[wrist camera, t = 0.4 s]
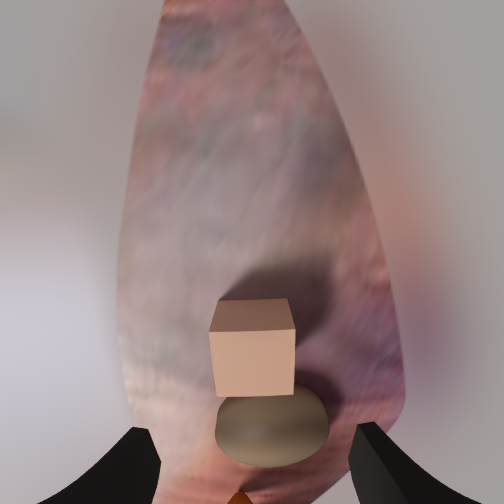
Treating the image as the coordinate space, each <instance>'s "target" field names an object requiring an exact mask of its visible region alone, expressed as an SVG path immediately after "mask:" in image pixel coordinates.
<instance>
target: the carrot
mask: <svg viewBox="0 0 504 504" xmlns="http://www.w3.org/2000/svg"><path fill="white" fill-rule="evenodd" d="M228 504H253V503H252V502H251V500H250V499H249V497H248V496H247V495H246V494H245V493H244V492H242V491H239V492H237V493H235V494H234V496H233V497H232V498H231V499H230V501H229V502H228Z"/></svg>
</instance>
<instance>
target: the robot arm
mask: <svg viewBox="0 0 504 504" xmlns="http://www.w3.org/2000/svg"><path fill="white" fill-rule="evenodd" d="M348 460H349V465H350V471H351V476H352V480H353V484H354V487H355V490H356V493H357V496H358V499H359V502H360V504H481V503H479V502H476V501H474V500H472V499H470V498H468V497H465V496H463V495H461V494H460V493H458V492H456V491H454V490H452V489H450V488H449V487H447V486H446V485H444V484H443V483H441V482H440V481H438V480H437V479H435V478H434V477H432V476H431V475H430V474H428V473H427V472H426V471H425V470H424V469H422V468H421V467H420V466H419V465H418V464H416V463H415V462H414V461H413V460H412V459H411V458H410V457H409V456H408V455H407V454H405V453H404V452H403V451H402V450H401V449H400V448H399V447H398V446H397V445H396V444H395V443H394V442H393V441H392V440H391V439H390V438H389V437H388V436H387V435H386V433H385V432H384V431H383V430H382V429H381V428H380V427H379V426H378V425H377V424H376V423H375V422H374V421H373V422H368V423H362V424H357V428H356V432H355V436H354V439H353V443H352V447H351V450H350V454H349V457H348ZM160 467H161V460H160V458H159V455H158V453H157V451H156V448H155V446H154V443H153V441H152V438H151V435H150V433H149V430H148V429H144V428H137V427H132V428H131V429H130V430H129V431H128V432H127V433H126V434H125V435H124V436H123V437H122V438H121V439H120V440H119V441H118V442H117V443H116V444H115V445H114V446H113V447H112V448H111V449H110V450H109V452H107V453H106V454H105V455H104V456H103V457H102V458H101V459H100V460H99V461H98V462H97V463H96V464H95V465H94V466H93V467H91V468H90V469H89V470H88V471H87V472H85V473H84V474H83V475H82V476H81V477H80V478H78V479H77V480H76V481H74V482H73V483H72V484H70V485H69V486H67V487H66V488H65V489H63V490H61V491H60V492H58V493H57V494H55V495H53V496H51V497H50V498H48V499H46V500H44V501H42V502H40V503H38V504H152V501H153V497H154V494H155V491H156V488H157V485H158V479H159V473H160Z"/></svg>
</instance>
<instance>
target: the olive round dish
mask: <svg viewBox="0 0 504 504" xmlns="http://www.w3.org/2000/svg"><path fill="white" fill-rule="evenodd" d="M329 428H330V427H329V422H328V418H327V414H326V411H325V407H324V405H323V402H322V401H321V399H320V398H319V397H318V395H317V394H315V393H314V392H313V391H311V390H310V389H308V388H306V387H304V386H302V385H299V384H296V383H294V391H293V395H277V396H249V397H227V398H226V399H225V400H224V402H223V403H222V404H221V406H220V408H219V411H218V415H217V422H216V429H215V438H216V442H217V444H218V446H219V447H220V449H221V450H222V451H223V452H224V453H225V454H226V455H228V456H229V457H231V458H232V459H234V460H236V461H238V462H241V463H244V464H247V465H251V466H257V467H280V466H286V465H290V464H294V463H297V462H299V461H302V460H304V459H306V458H308V457H310V456H311V455H313V454H314V453H315V452H317V451H318V450H319V449H320V448H321V447H322V446H323V444H324V443H325V441H326V440H327V437H328V435H329Z"/></svg>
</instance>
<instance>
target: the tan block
mask: <svg viewBox="0 0 504 504" xmlns="http://www.w3.org/2000/svg"><path fill="white" fill-rule="evenodd" d="M209 338H210V347H211V355H212V363H213V371H214V378H215V386H216V393H217V397H249V396H277V395H293V391H294V365H295V326H294V322H293V318H292V314H291V311H290V307H289V303H288V299H287V298H277V299H252V300H218V303H217V306H216V309H215V313H214V316H213V319H212V323H211V326H210V329H209Z"/></svg>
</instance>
